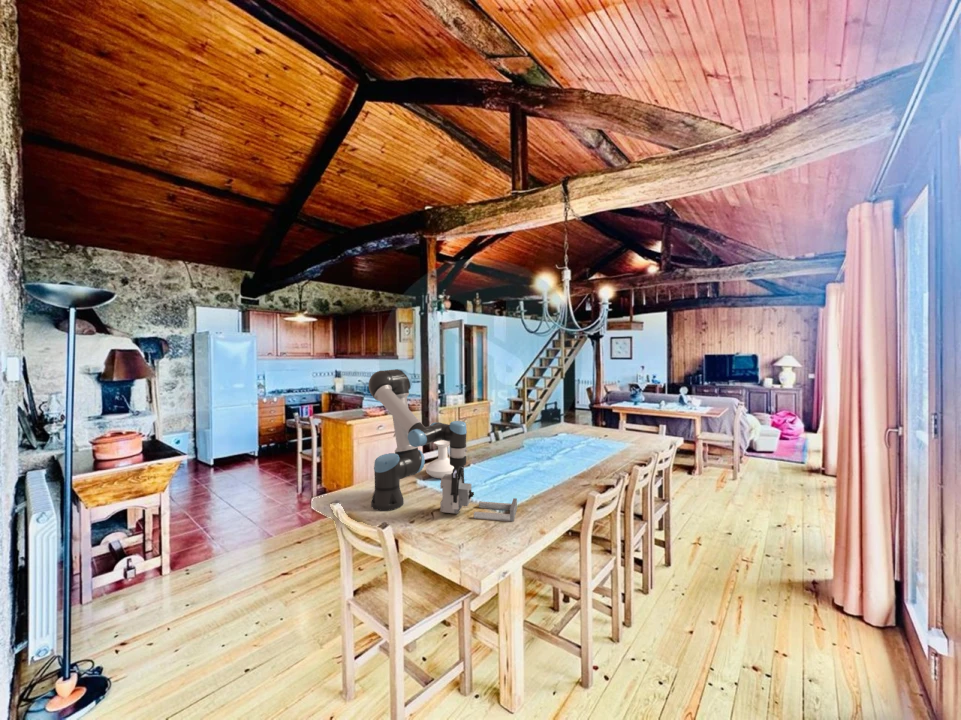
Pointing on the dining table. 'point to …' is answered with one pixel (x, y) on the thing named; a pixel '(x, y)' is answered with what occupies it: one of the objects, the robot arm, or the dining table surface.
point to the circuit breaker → (446, 501)
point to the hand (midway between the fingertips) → (457, 505)
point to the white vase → (440, 462)
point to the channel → (497, 516)
